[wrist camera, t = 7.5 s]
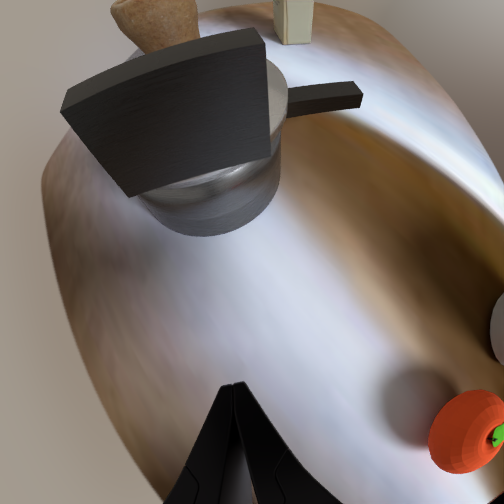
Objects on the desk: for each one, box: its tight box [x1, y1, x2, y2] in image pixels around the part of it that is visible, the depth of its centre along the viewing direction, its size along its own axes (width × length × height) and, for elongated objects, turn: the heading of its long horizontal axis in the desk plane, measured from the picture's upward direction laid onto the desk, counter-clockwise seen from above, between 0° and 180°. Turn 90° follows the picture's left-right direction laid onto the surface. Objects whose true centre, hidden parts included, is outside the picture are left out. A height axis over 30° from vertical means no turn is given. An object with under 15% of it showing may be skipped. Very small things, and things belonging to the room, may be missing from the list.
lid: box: [60, 27, 288, 198], centre depth 14 cm, size 14×14×8 cm
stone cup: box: [111, 0, 200, 54], centre depth 25 cm, size 15×12×15 cm
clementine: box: [428, 390, 504, 474], centre depth 13 cm, size 8×7×7 cm
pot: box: [138, 81, 363, 237], centre depth 22 cm, size 13×20×8 cm, turn 104°
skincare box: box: [273, 0, 314, 45], centre depth 29 cm, size 6×4×12 cm
